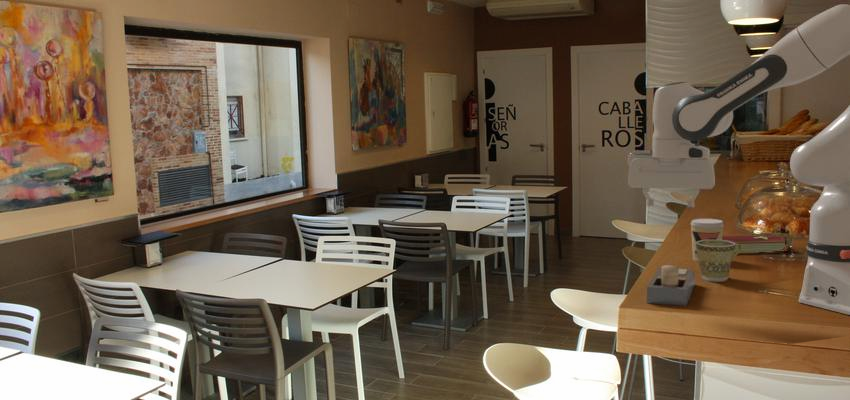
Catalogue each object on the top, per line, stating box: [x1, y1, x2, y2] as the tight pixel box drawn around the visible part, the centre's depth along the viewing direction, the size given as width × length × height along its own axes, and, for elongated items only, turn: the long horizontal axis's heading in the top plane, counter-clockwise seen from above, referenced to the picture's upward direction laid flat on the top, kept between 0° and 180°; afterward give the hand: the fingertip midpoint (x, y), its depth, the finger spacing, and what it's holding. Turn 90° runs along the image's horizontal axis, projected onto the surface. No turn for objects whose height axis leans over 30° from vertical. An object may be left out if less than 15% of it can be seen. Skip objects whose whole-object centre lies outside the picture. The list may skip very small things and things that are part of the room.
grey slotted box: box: [646, 267, 696, 307], centre depth 195 cm, size 22×9×4 cm, turn 156°
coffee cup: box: [690, 218, 724, 263], centre depth 232 cm, size 9×9×12 cm
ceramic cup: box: [696, 240, 741, 283], centre depth 209 cm, size 13×10×10 cm
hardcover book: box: [722, 234, 786, 254], centre depth 246 cm, size 12×21×4 cm, turn 90°
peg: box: [661, 264, 680, 287], centre depth 190 cm, size 4×4×8 cm
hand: (670, 206), depth 188 cm, fingers open, 8 cm apart
